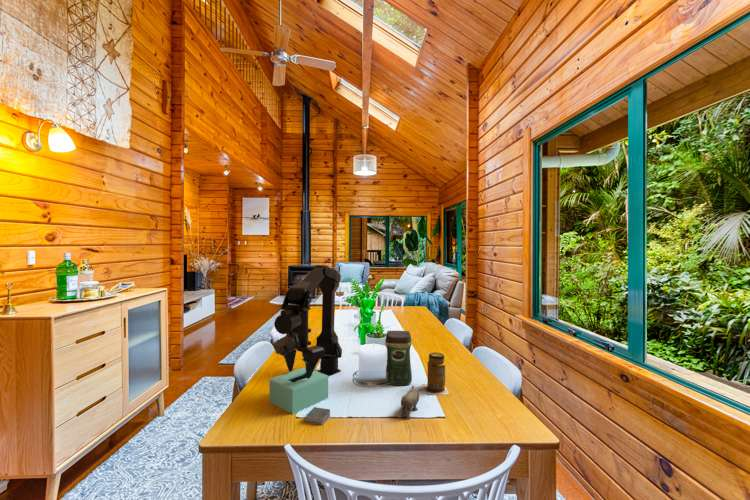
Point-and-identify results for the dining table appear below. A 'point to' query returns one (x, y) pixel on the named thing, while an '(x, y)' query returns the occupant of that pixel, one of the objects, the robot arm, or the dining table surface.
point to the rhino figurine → (410, 401)
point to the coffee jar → (398, 358)
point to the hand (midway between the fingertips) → (299, 374)
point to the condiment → (436, 375)
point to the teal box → (298, 390)
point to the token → (318, 416)
